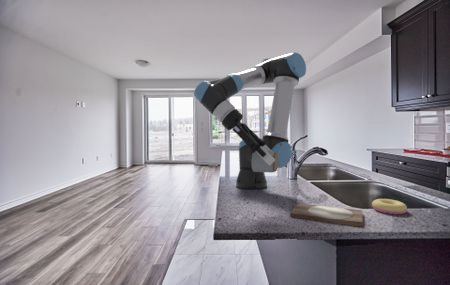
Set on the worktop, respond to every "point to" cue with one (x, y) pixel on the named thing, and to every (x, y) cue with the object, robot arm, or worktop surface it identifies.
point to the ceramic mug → (264, 163)
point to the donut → (389, 206)
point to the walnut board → (328, 214)
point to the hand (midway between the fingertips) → (274, 161)
